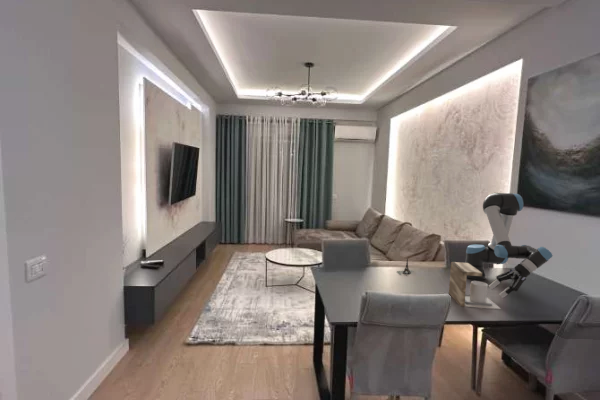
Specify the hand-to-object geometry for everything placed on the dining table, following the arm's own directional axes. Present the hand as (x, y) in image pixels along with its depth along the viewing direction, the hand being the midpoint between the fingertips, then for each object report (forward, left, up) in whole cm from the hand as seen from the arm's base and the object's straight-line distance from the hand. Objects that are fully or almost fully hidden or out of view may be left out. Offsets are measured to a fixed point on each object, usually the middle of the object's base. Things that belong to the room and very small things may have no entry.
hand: (495, 291), depth 187 cm
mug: (+10, 0, -6) cm, 12 cm away
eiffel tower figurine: (+40, -48, -7) cm, 63 cm away
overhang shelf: (+17, 0, -6) cm, 18 cm away
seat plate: (+10, 0, -6) cm, 12 cm away
